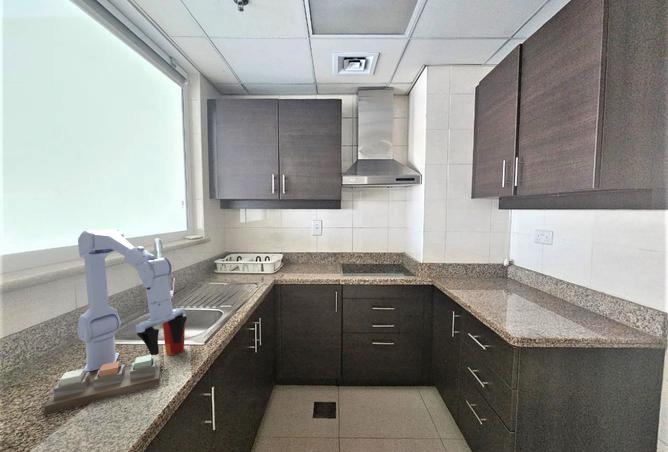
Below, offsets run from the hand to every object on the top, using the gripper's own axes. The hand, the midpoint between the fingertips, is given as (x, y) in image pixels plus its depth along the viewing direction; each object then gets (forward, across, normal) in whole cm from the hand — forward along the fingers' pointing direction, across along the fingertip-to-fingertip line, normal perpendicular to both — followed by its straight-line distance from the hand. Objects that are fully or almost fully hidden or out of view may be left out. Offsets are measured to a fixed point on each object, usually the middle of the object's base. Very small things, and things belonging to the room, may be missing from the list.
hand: (166, 348), depth 82 cm
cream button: (+4, -11, +21) cm, 24 cm away
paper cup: (+8, +17, +16) cm, 25 cm away
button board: (+8, -5, +16) cm, 19 cm away
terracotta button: (+5, -5, +16) cm, 17 cm away
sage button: (+5, 0, +10) cm, 12 cm away
